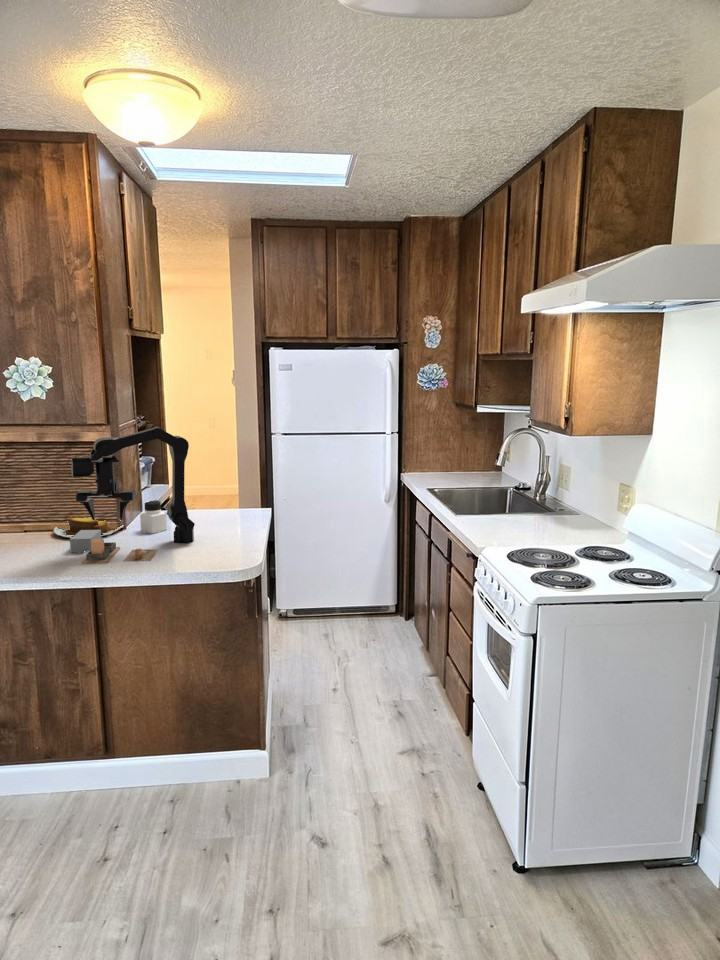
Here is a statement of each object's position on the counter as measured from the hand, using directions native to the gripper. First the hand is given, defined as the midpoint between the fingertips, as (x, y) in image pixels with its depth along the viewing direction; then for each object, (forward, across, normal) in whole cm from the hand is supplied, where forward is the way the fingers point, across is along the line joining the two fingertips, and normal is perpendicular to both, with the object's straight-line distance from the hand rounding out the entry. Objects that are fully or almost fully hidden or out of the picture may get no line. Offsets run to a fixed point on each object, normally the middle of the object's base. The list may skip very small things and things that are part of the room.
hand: (107, 519), depth 217 cm
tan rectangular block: (+10, +1, +10) cm, 14 cm away
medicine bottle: (+12, -9, -29) cm, 33 cm away
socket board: (+12, +1, +6) cm, 13 cm away
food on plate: (+13, +16, -29) cm, 35 cm away
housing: (+12, +10, -7) cm, 17 cm away
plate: (+12, -12, +6) cm, 18 cm away
